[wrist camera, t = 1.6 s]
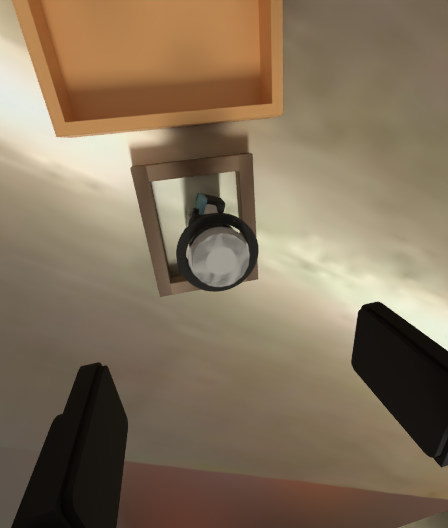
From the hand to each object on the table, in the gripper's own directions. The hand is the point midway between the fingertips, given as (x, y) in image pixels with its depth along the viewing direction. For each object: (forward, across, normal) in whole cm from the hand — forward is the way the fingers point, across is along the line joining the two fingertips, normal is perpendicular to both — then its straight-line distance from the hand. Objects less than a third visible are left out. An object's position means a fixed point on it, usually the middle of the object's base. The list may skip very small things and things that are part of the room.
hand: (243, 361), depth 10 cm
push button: (+18, -1, 0) cm, 18 cm away
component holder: (+18, -1, 0) cm, 18 cm away
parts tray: (+18, 0, -15) cm, 23 cm away
